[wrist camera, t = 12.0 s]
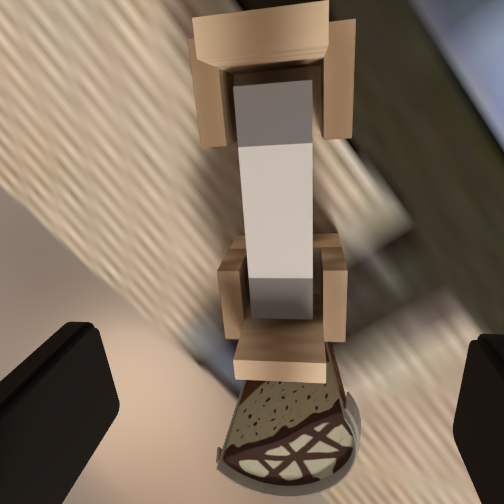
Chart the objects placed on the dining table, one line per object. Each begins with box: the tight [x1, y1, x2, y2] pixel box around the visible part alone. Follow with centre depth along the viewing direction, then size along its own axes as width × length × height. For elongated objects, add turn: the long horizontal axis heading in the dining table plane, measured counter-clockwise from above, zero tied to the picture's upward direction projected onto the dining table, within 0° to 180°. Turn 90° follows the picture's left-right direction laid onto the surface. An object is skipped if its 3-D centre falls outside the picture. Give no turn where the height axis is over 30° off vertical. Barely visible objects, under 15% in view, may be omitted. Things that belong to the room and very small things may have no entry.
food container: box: [216, 342, 361, 497], centre depth 30 cm, size 12×6×10 cm, turn 128°
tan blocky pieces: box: [188, 0, 356, 383], centre depth 22 cm, size 8×19×11 cm, turn 5°
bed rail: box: [233, 80, 313, 320], centre depth 22 cm, size 4×14×5 cm, turn 4°
